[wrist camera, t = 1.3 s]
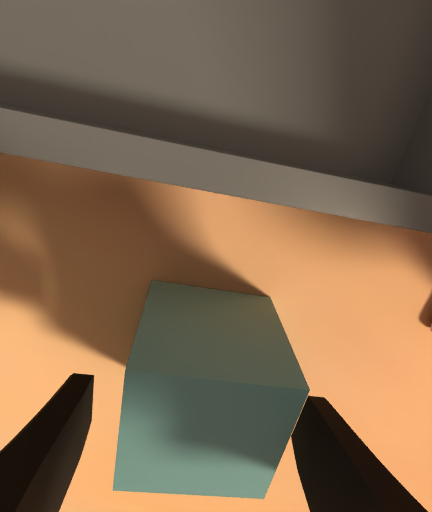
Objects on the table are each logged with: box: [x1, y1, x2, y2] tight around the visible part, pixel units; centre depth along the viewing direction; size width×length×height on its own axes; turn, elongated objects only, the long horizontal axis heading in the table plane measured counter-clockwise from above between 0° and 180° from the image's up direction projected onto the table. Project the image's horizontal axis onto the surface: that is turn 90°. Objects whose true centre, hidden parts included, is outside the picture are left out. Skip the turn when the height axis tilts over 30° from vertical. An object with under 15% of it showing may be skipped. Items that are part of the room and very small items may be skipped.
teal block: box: [113, 280, 310, 499], centre depth 11 cm, size 5×5×5 cm
